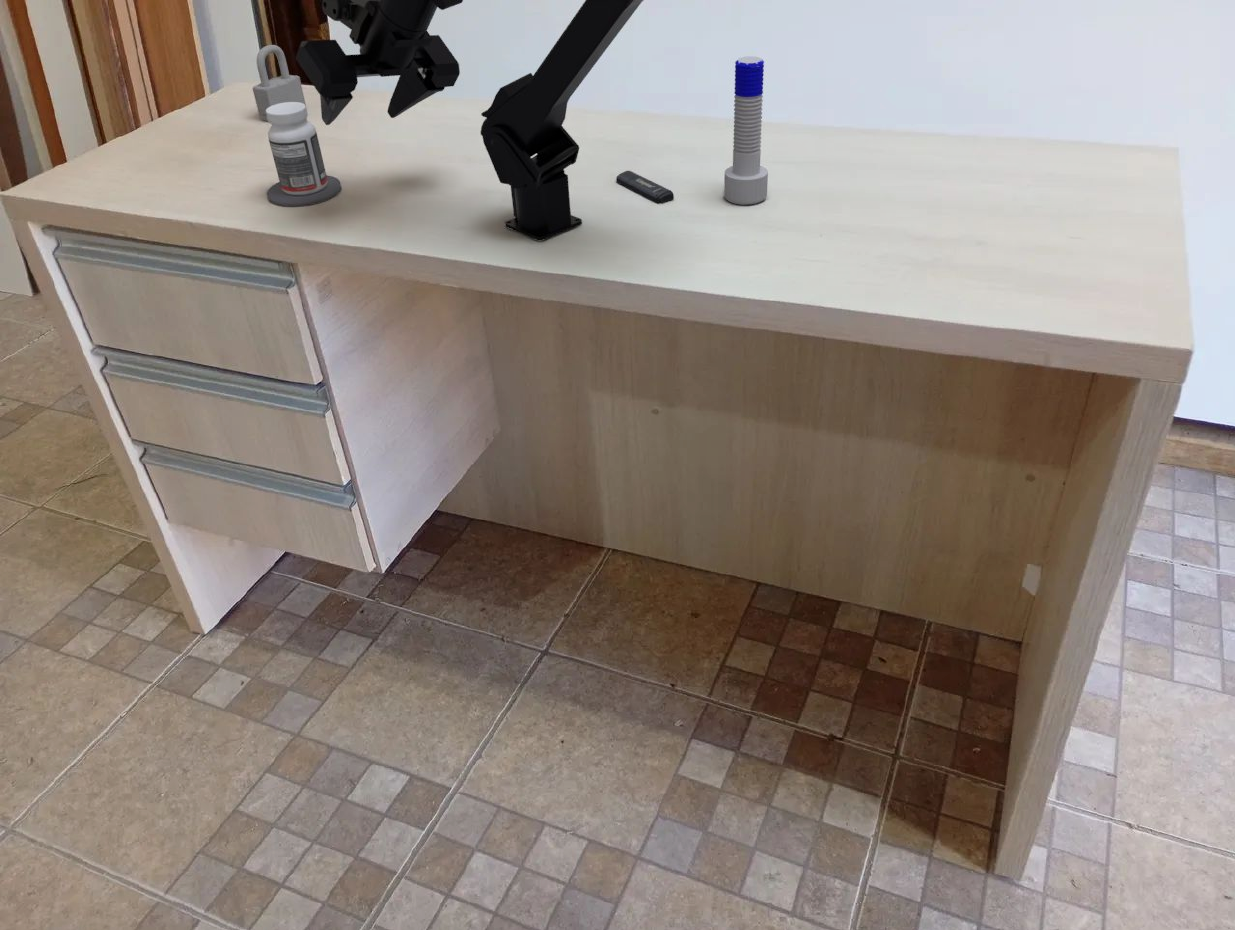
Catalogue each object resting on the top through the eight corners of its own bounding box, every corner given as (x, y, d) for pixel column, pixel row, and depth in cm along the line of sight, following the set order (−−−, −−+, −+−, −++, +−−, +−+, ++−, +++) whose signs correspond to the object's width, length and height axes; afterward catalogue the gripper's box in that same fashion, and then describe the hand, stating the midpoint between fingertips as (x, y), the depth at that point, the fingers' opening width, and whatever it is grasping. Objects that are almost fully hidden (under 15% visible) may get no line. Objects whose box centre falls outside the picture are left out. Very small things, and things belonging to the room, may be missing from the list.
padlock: (290, 106, 158) (274, 38, 152) (310, 109, 156) (294, 40, 150) (257, 120, 153) (239, 50, 147) (277, 123, 151) (260, 53, 145)
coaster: (355, 190, 128) (354, 186, 127) (290, 212, 123) (289, 208, 123) (318, 173, 133) (317, 169, 133) (255, 194, 128) (253, 189, 128)
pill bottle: (305, 176, 131) (286, 97, 125) (338, 183, 128) (320, 103, 122) (272, 192, 127) (251, 111, 121) (305, 199, 125) (285, 118, 119)
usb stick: (614, 184, 127) (613, 172, 126) (631, 179, 128) (631, 167, 127) (658, 208, 120) (658, 195, 119) (676, 202, 121) (676, 190, 120)
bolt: (770, 191, 122) (761, 207, 118) (729, 188, 123) (719, 204, 119) (777, 54, 112) (767, 67, 108) (732, 52, 114) (721, 65, 110)
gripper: (433, -42, 117) (387, 63, 129) (289, -44, 105) (253, 72, 116) (485, 30, 116) (434, 130, 127) (345, 36, 103) (302, 146, 114)
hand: (358, 118), depth 121 cm, fingers open, 9 cm apart
